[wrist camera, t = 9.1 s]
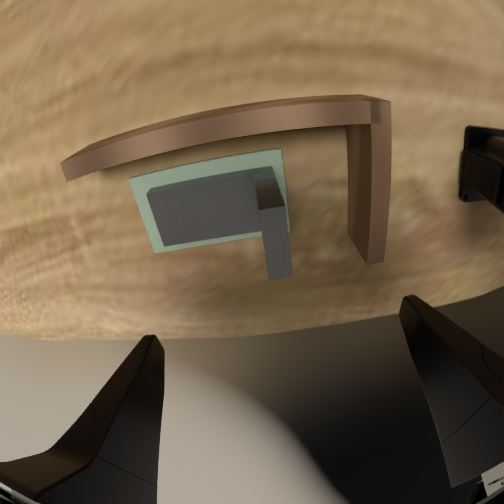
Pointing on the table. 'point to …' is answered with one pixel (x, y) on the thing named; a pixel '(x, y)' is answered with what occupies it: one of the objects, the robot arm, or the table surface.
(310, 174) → the table surface
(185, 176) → the mat
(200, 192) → the angle bracket
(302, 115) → the corner walls
